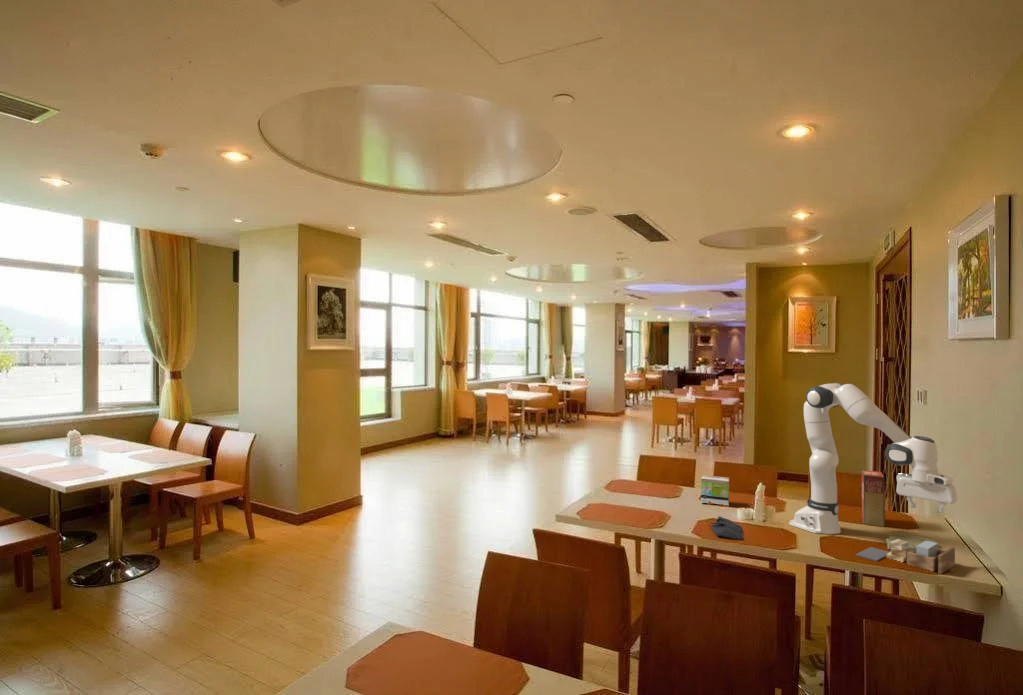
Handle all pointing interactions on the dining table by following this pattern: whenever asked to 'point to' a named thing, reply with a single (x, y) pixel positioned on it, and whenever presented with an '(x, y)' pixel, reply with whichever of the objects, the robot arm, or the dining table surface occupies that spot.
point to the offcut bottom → (896, 557)
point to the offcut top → (899, 544)
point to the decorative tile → (909, 538)
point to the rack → (933, 560)
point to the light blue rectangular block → (927, 549)
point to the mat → (873, 554)
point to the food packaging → (873, 498)
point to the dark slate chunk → (727, 529)
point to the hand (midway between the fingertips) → (926, 510)
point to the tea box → (715, 490)
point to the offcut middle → (899, 552)
